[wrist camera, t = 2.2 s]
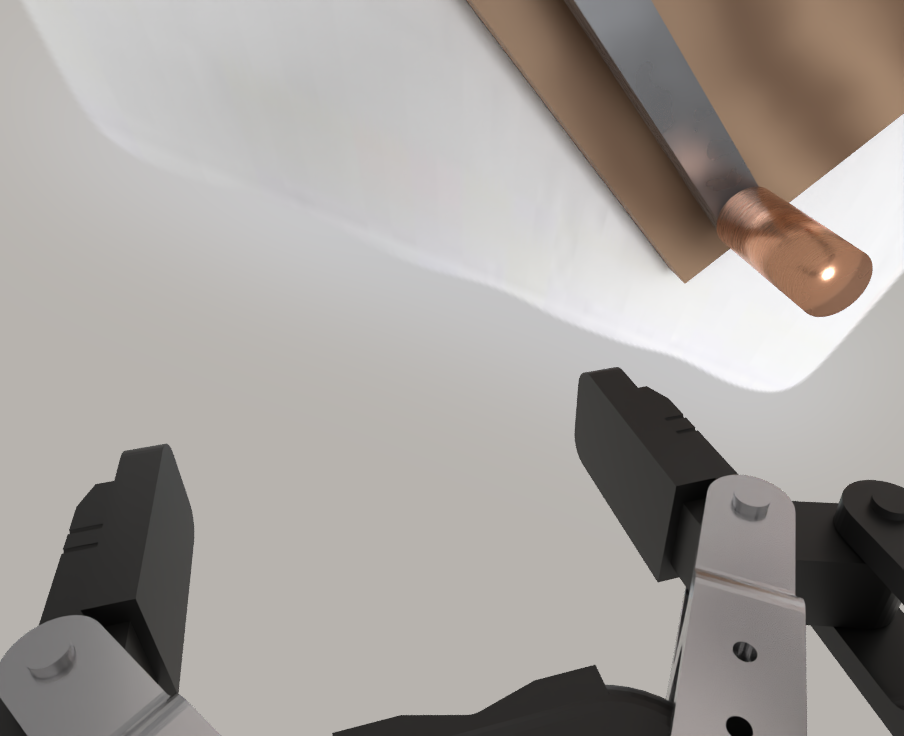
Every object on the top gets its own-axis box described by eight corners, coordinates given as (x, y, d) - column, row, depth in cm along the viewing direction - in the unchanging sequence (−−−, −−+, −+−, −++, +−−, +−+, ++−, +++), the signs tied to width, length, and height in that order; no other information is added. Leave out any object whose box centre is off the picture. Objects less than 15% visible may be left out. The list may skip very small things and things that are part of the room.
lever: (529, -200, 25) (641, -233, 17) (760, 197, 37) (888, 285, 29) (457, -120, 26) (531, -117, 18) (705, 241, 38) (814, 337, 30)
